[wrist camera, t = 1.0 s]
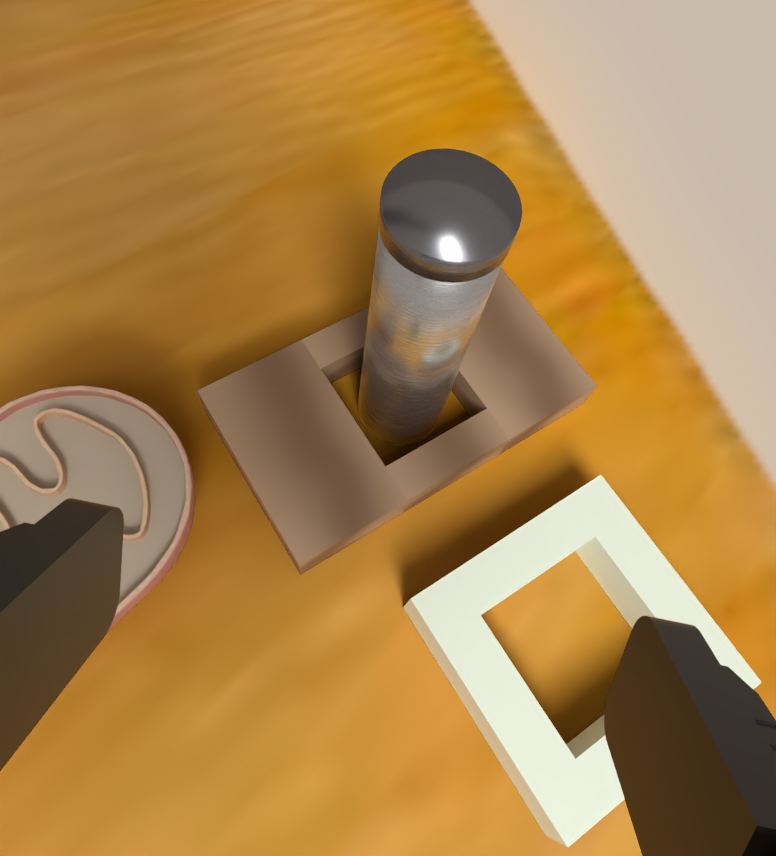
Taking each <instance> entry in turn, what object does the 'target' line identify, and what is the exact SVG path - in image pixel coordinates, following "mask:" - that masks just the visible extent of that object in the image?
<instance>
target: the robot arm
mask: <svg viewBox="0 0 776 856" xmlns="http://www.w3.org/2000/svg"><path fill="white" fill-rule="evenodd" d="M123 530H124V518H123V513H122V511H121V509H120V508H118V507H113V506H108V505H103V504H98V503H93V502H88V501H83V500H78V499H73V498H69V499H66V500H64V501H63V502H62V503H60V504H59V505H58V506H57V507H55V508H54V509H53V510H52V511H50V512H49V513H48V514H46V515H45V516H44V517H43V518H41V519H40V520H39V521H38V522H36V523H35V524H30V523H25V522H24V523H22V524H19V525H16V526H14V527H11V528H9V529H6V530H3V531H1V532H0V771H1V769H2V768H3V767H4V766H5V764H6V763H7V762H8V760H9V759H10V758H11V757H12V755H13V754H14V753H15V751H16V750H17V749H18V748H19V746H20V745H21V744H22V742H23V741H24V740H25V738H26V737H27V736H28V735H29V733H30V732H31V731H32V729H33V728H34V727H35V726H36V724H37V723H38V722H39V720H40V719H41V718H42V716H43V715H44V714H45V713H46V711H47V710H48V709H49V707H50V706H51V705H52V704H53V702H54V701H55V700H56V698H57V697H58V696H59V695H60V693H61V692H62V691H63V689H64V688H65V687H66V685H67V684H68V683H69V682H70V680H71V679H72V678H73V676H74V675H75V674H76V673H77V671H78V670H79V669H80V667H81V666H82V665H83V664H84V662H85V661H86V660H87V658H88V657H89V656H90V654H91V653H92V652H93V651H94V649H95V648H96V647H97V645H98V644H99V643H100V642H101V640H102V639H103V638H104V636H105V635H106V633H107V632H108V630H109V628H110V626H111V624H112V621H113V619H114V616H115V614H116V610H117V607H118V602H119V596H120V582H121V565H122V547H123ZM604 728H605V736H606V740H607V744H608V747H609V750H610V753H611V757H612V760H613V763H614V766H615V769H616V773H617V776H618V779H619V782H620V785H621V788H622V792H623V795H624V798H625V801H626V804H627V808H628V811H629V814H630V817H631V820H632V823H633V827H634V830H635V833H636V836H637V839H638V843H639V846H640V849H641V852H642V855H643V856H776V720H775V719H774V717H773V716H772V714H771V713H770V711H769V710H768V708H767V707H766V705H765V704H764V702H763V701H762V699H761V697H760V696H759V694H757V693H756V692H755V691H754V690H753V689H752V688H751V687H750V686H749V685H748V684H747V683H746V682H744V681H743V680H742V679H741V678H740V677H739V676H738V675H737V674H736V673H735V672H734V671H732V670H731V669H730V668H729V667H728V666H723V665H720V663H719V661H718V660H717V658H716V657H715V655H714V653H713V652H712V650H711V648H710V647H709V645H708V644H707V642H706V640H705V639H704V637H703V635H702V634H701V632H700V631H699V629H698V628H697V627H695V626H693V625H689V624H684V623H680V622H675V621H670V620H665V619H660V618H655V617H650V616H641V617H640V618H639V619H638V620H637V621H636V623H635V624H634V626H633V629H632V631H631V634H630V637H629V639H628V642H627V645H626V647H625V650H624V653H623V655H622V658H621V661H620V664H619V666H618V669H617V672H616V674H615V677H614V680H613V682H612V685H611V688H610V691H609V693H608V696H607V700H606V705H605V713H604Z"/></svg>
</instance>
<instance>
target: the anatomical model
mask: <svg viewBox="0 0 776 856" xmlns="http://www.w3.org/2000/svg"><path fill="white" fill-rule="evenodd" d="M69 498H73V499H78V500H83V501H88V502H93V503H98V504H103V505H108V506H113V507H118V508H120V509H121V511H122V513H123V518H124V530H123V547H122V565H121V582H120V596H119V602H118V607H117V610H116V614H115V616H114V619H113V621H112V624H111V626H110V628H109V630H108V631H110V630H111V629H112V628H113V627H114V626H115V625H116V624H117V623H118V622H119V621H120V620H121V619H122V618H123V617H124V616H125V615H126V614H127V613H128V612H129V611H130V610H131V609H132V608H133V607H134V606H135V605H137V604H138V603H139V602H140V601H141V600H142V599H143V598H144V597H145V596H146V595H147V594H148V593H149V592H150V591H151V590H152V589H153V588H154V587H155V586H156V585H157V584H158V583H159V582H160V581H161V580H162V579H163V578H164V577H165V575H166V574H167V573H168V571H169V570H170V568H171V567H172V566H173V564H174V563H175V562H176V560H177V559H178V557H179V555H180V553H181V551H182V549H183V547H184V545H185V543H186V541H187V538H188V535H189V532H190V528H191V525H192V521H193V514H194V507H195V488H194V476H193V472H192V469H191V465H190V461H189V458H188V456H187V454H186V451H185V449H184V447H183V445H182V443H181V441H180V439H179V438H178V436H177V434H176V433H175V432H174V430H173V429H172V428H171V427H170V425H169V424H168V423H167V422H166V421H165V419H164V418H163V417H162V416H161V415H159V414H158V413H157V412H156V411H155V410H153V409H152V408H151V407H150V406H148V405H146V404H145V403H143V402H141V401H139V400H138V399H136V398H134V397H132V396H129V395H126V394H124V393H121V392H118V391H115V390H111V389H106V388H102V387H94V386H82V385H80V386H63V387H56V388H50V389H44V390H40V391H38V392H35V393H32V394H29V395H26V396H23V397H20V398H18V399H16V400H13V401H11V402H9V403H7V404H6V405H4V406H3V407H1V408H0V532H1V531H3V530H6V529H9V528H11V527H14V526H16V525H19V524H22V523H24V522H25V523H30V524H35V523H36V522H38V521H39V520H40V519H41V518H43V517H44V516H45V515H46V514H48V513H49V512H50V511H52V510H53V509H54V508H55V507H57V506H58V505H59V504H60V503H62V502H63V501H64V500H66V499H69Z"/></svg>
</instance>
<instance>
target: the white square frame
mask: <svg viewBox="0 0 776 856" xmlns="http://www.w3.org/2000/svg"><path fill="white" fill-rule="evenodd" d="M574 551H575V552H576V553H577V555H578V556H579V557H580V559H581V560H582V561H583V563H584V564H585V566H586V567H587V568H588V570H589V571H590V572H591V574H592V575H593V576H594V578H595V579H596V581H597V582H598V583H599V585H600V586H601V587H602V589H603V590H604V592H605V593H606V594H607V596H608V597H609V598H610V600H611V601H612V602H613V604H614V605H615V607H616V608H617V609H618V611H619V612H620V613H621V615H622V616H623V618H624V619H625V620H626V622H627V623H628V624H629V626H630V627H631V629H633V626H634V624H635V623H636V621H637V620H638V619H639V618H640V617H641V616H650V617H655V618H660V619H665V620H670V621H675V622H680V623H684V624H689V625H693V626H695V627H697V628H698V629H699V631H700V632H701V634H702V635H703V637H704V639H705V640H706V642H707V644H708V645H709V647H710V648H711V650H712V652H713V653H714V655H715V657H716V658H717V660H718V661H719V663H720V665H723V666H728V667H729V668H730V669H731V670H732V671H734V672H735V673H736V674H737V675H738V676H739V677H740V678H741V679H742V680H743V681H744V682H746V683H747V684H748V685H749V686H750V687H751V688H752V689H754V688H756V687H757V686H758V685H759V684H760V683H761V681H760V680H759V678H758V677H757V676H756V674H755V673H754V672H753V670H752V669H751V668H750V667H749V665H748V664H747V663H746V661H745V660H744V659H743V658H742V656H741V655H740V654H739V652H738V651H737V650H736V649H735V647H734V646H733V645H732V643H731V642H730V641H729V639H728V638H727V637H726V636H725V634H724V633H723V632H722V630H721V629H720V628H719V627H718V625H717V624H716V623H715V621H714V620H713V619H712V618H711V616H710V615H709V614H708V612H707V611H706V610H705V608H704V607H703V606H702V605H701V603H700V602H699V601H698V599H697V598H696V597H695V596H694V594H693V593H692V592H691V590H690V589H689V588H688V587H687V585H686V584H685V583H684V581H683V580H682V579H681V577H680V576H679V575H678V574H677V572H676V571H675V570H674V568H673V567H672V566H671V565H670V563H669V562H668V561H667V559H666V558H665V557H664V556H663V554H662V553H661V552H660V550H659V549H658V548H657V546H656V545H655V544H654V543H653V541H652V540H651V539H650V537H649V536H648V535H647V534H646V532H645V531H644V530H643V528H642V527H641V526H640V524H639V523H638V522H637V521H636V519H635V518H634V517H633V515H632V514H631V513H630V512H629V510H628V509H627V508H626V506H625V505H624V504H623V503H622V501H621V500H620V499H619V497H618V496H617V495H616V493H615V492H614V491H613V490H612V488H611V487H610V486H609V484H608V483H607V482H606V481H605V479H604V478H603V477H602V475H599V476H598V477H596V478H595V479H593V480H592V481H590V482H589V483H587V484H586V485H584V486H582V487H581V488H579V489H578V490H576V491H575V492H573V493H572V494H570V495H569V496H567V497H566V498H564V499H563V500H561V501H559V502H558V503H556V504H555V505H553V506H552V507H550V508H549V509H547V510H546V511H544V512H543V513H541V514H540V515H538V516H536V517H535V518H533V519H532V520H530V521H529V522H527V523H526V524H524V525H523V526H521V527H520V528H518V529H517V530H515V531H513V532H512V533H510V534H509V535H507V536H506V537H504V538H503V539H501V540H500V541H498V542H497V543H495V544H494V545H492V546H490V547H489V548H487V549H486V550H484V551H483V552H481V553H480V554H478V555H477V556H475V557H474V558H472V559H470V560H469V561H467V562H466V563H464V564H463V565H461V566H460V567H458V568H457V569H455V570H454V571H452V572H451V573H449V574H447V575H446V576H444V577H443V578H441V579H440V580H438V581H437V582H435V583H434V584H432V585H431V586H429V587H428V588H426V589H424V590H423V591H421V592H420V593H418V594H417V595H415V596H414V597H412V598H411V599H410V600H409V601H408V602H407V603H406V605H405V606H404V607H403V608H404V610H405V611H406V613H407V614H408V616H409V618H410V619H411V621H412V622H413V624H414V626H415V627H416V629H417V630H418V632H419V634H420V635H421V637H422V639H423V640H424V642H425V643H426V645H427V647H428V648H429V650H430V651H431V653H432V655H433V656H434V658H435V659H436V661H437V663H438V664H439V666H440V667H441V669H442V671H443V672H444V674H445V675H446V677H447V679H448V680H449V682H450V683H451V685H452V687H453V688H454V690H455V691H456V693H457V695H458V696H459V698H460V699H461V701H462V703H463V704H464V706H465V707H466V709H467V711H468V712H469V714H470V715H471V717H472V719H473V720H474V722H475V723H476V725H477V727H478V728H479V730H480V731H481V733H482V735H483V736H484V738H485V739H486V741H487V743H488V744H489V746H490V747H491V749H492V751H493V752H494V754H495V755H496V757H497V759H498V760H499V762H500V763H501V765H502V767H503V768H504V770H505V771H506V773H507V775H508V776H509V778H510V779H511V781H512V783H513V784H514V786H515V787H516V789H517V791H518V792H519V794H520V795H521V797H522V799H523V800H524V802H525V803H526V805H527V807H528V808H529V810H530V811H531V813H532V815H533V816H534V818H535V819H536V821H537V823H538V824H539V826H540V827H541V829H542V831H543V832H544V834H545V835H546V836H548V837H550V838H551V839H553V840H555V841H557V842H558V843H560V844H562V845H564V846H565V847H567V848H568V847H569V846H570V845H572V844H573V843H574V842H575V841H576V840H577V839H579V838H580V837H581V836H582V835H583V834H584V833H586V832H587V831H588V830H589V829H590V828H591V827H593V826H594V825H595V824H596V823H597V822H598V821H600V820H601V819H602V818H603V817H604V816H606V815H607V814H608V813H609V812H610V811H611V810H613V809H614V808H615V807H616V806H617V805H618V804H620V803H621V802H622V801H623V800H624V799H625V798H624V795H623V792H622V788H621V785H620V782H619V779H618V776H617V773H616V769H615V766H614V763H613V760H612V757H611V753H610V750H609V747H608V744H607V740H606V736H605V728H604V715H603V716H601V717H600V718H599V719H597V720H596V721H595V722H594V723H592V724H591V725H590V726H589V727H587V728H586V729H585V730H584V731H582V732H581V733H580V734H579V735H577V736H576V737H575V738H574V739H572V740H571V741H570V742H568V743H567V744H565V742H564V741H563V739H562V738H561V736H560V735H559V733H558V732H557V730H556V729H555V727H554V726H553V724H552V723H551V721H550V719H549V718H548V716H547V715H546V713H545V712H544V710H543V709H542V707H541V706H540V704H539V703H538V701H537V700H536V698H535V697H534V695H533V694H532V692H531V691H530V689H529V688H528V686H527V685H526V683H525V682H524V680H523V679H522V677H521V676H520V674H519V673H518V671H517V670H516V668H515V666H514V665H513V663H512V662H511V660H510V659H509V657H508V656H507V654H506V653H505V651H504V650H503V648H502V647H501V645H500V644H499V642H498V641H497V639H496V638H495V636H494V635H493V633H492V632H491V630H490V629H489V627H488V626H487V624H486V623H485V621H484V620H483V618H482V617H481V615H482V614H483V613H485V612H486V611H488V610H489V609H491V608H492V607H494V606H495V605H497V604H498V603H499V602H501V601H502V600H504V599H505V598H507V597H508V596H510V595H511V594H513V593H514V592H516V591H517V590H518V589H520V588H521V587H523V586H524V585H526V584H527V583H529V582H530V581H532V580H533V579H534V578H536V577H537V576H539V575H540V574H542V573H543V572H545V571H546V570H548V569H549V568H551V567H552V566H553V565H555V564H556V563H558V562H559V561H561V560H562V559H564V558H565V557H567V556H568V555H569V554H571V553H572V552H574Z"/></svg>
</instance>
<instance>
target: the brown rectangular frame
mask: <svg viewBox="0 0 776 856" xmlns="http://www.w3.org/2000/svg"><path fill="white" fill-rule="evenodd" d="M368 314H369V307H367V308H365V309H363V310H361V311H359V312H357V313H355V314H353V315H351V316H349V317H347V318H345V319H343V320H341V321H339V322H336V323H334V324H332V325H330V326H328V327H326V328H324V329H322V330H320V331H318V332H316V333H314V334H312V335H310V336H308V337H306V338H304V339H302V340H300V341H298V342H295V343H293V344H291V345H289V346H287V347H285V348H283V349H281V350H279V351H277V352H275V353H273V354H271V355H269V356H267V357H265V358H263V359H261V360H259V361H257V362H255V363H252V364H250V365H248V366H246V367H244V368H242V369H240V370H238V371H236V372H234V373H232V374H230V375H228V376H226V377H224V378H222V379H220V380H218V381H216V382H214V383H212V384H209V385H207V386H205V387H203V388H201V389H199V390H197V392H198V394H199V397H200V399H201V402H202V405H203V407H204V410H205V411H206V413H207V415H208V416H209V418H210V420H211V422H212V423H213V425H214V427H215V428H216V430H217V432H218V434H219V435H220V437H221V439H222V441H223V442H224V444H225V446H226V447H227V449H228V451H229V453H230V454H231V456H232V458H233V459H234V461H235V463H236V465H237V466H238V468H239V470H240V471H241V473H242V475H243V477H244V478H245V480H246V482H247V483H248V485H249V487H250V489H251V490H252V492H253V494H254V495H255V497H256V499H257V501H258V502H259V504H260V506H261V507H262V509H263V511H264V513H265V514H266V516H267V518H268V519H269V521H270V523H271V525H272V526H273V528H274V530H275V531H276V533H277V535H278V537H279V538H280V540H281V542H282V543H283V545H284V547H285V549H286V550H287V552H288V554H289V555H290V557H291V559H292V561H293V562H294V564H295V566H296V567H297V569H298V571H299V573H300V574H302V573H304V572H305V571H307V570H309V569H310V568H312V567H314V566H315V565H317V564H319V563H320V562H322V561H324V560H325V559H327V558H329V557H330V556H332V555H334V554H335V553H337V552H339V551H340V550H342V549H344V548H345V547H347V546H348V545H350V544H352V543H353V542H355V541H357V540H358V539H360V538H362V537H363V536H365V535H367V534H368V533H370V532H372V531H373V530H375V529H377V528H378V527H380V526H382V525H383V524H385V523H387V522H388V521H390V520H392V519H393V518H395V517H396V516H398V515H400V514H401V513H403V512H405V511H406V510H408V509H410V508H411V507H413V506H415V505H416V504H418V503H420V502H421V501H423V500H425V499H426V498H428V497H430V496H431V495H433V494H435V493H436V492H438V491H439V490H441V489H443V488H444V487H446V486H448V485H449V484H451V483H453V482H454V481H456V480H458V479H459V478H461V477H463V476H464V475H466V474H468V473H469V472H471V471H473V470H474V469H476V468H478V467H479V466H481V465H483V464H484V463H486V462H487V461H489V460H491V459H492V458H494V457H496V456H497V455H499V454H501V453H502V452H504V451H506V450H507V449H509V448H511V447H512V446H514V445H516V444H517V443H519V442H521V441H522V440H524V439H526V438H527V437H529V436H530V435H532V434H534V433H535V432H537V431H539V430H540V429H542V428H544V427H545V426H547V425H549V424H550V423H552V422H554V421H555V420H557V419H559V418H560V417H562V416H564V415H565V414H567V413H569V412H570V411H572V410H574V409H575V408H577V407H578V406H580V405H582V404H583V403H584V401H585V400H586V399H587V398H588V397H589V396H590V394H591V393H592V392H593V391H594V390H595V389H596V387H597V385H596V384H595V383H594V382H593V380H592V379H591V378H590V377H589V376H588V374H587V373H586V372H585V371H584V369H583V368H582V367H581V366H580V364H579V363H578V362H577V361H576V359H575V358H574V357H573V356H572V355H571V353H570V352H569V351H568V350H567V348H566V347H565V346H564V345H563V343H562V342H561V341H560V340H559V338H558V337H557V336H556V335H555V334H554V332H553V331H552V330H551V329H550V327H549V326H548V325H547V324H546V322H545V321H544V320H543V319H542V318H541V316H540V315H539V314H538V313H537V311H536V310H535V309H534V308H533V306H532V305H531V304H530V303H529V301H528V300H527V299H526V298H525V297H524V295H523V294H522V293H521V292H520V290H519V289H518V288H517V287H516V285H515V284H514V283H513V282H512V280H511V279H510V278H509V277H508V276H507V274H506V273H505V272H504V271H503V269H502V268H500V270H499V273H498V275H497V278H496V280H495V283H494V285H493V288H492V290H491V293H490V295H489V297H488V300H487V302H486V305H485V307H484V310H483V312H482V315H481V317H480V320H479V322H478V324H477V327H476V329H475V332H474V334H473V337H472V339H471V342H470V344H469V346H468V349H467V351H466V354H465V356H464V359H463V361H462V364H461V366H460V369H459V371H458V373H457V376H456V378H455V381H454V383H453V386H452V388H451V390H452V391H453V393H454V394H455V395H456V397H457V398H458V400H459V401H460V402H461V404H462V405H463V406H464V408H465V409H466V411H467V412H468V413H469V415H470V416H471V418H469V419H467V420H466V421H464V422H462V423H460V424H459V425H457V426H455V427H454V428H452V429H450V430H448V431H447V432H445V433H443V434H441V435H440V436H438V437H436V438H434V439H433V440H431V441H429V442H427V443H426V444H424V445H422V446H420V447H419V448H417V449H415V450H414V451H412V452H410V453H408V454H407V455H405V456H403V457H401V458H400V459H398V460H396V461H394V462H393V463H391V464H389V465H387V466H385V465H384V463H383V462H382V460H381V459H380V457H379V456H378V454H377V453H376V451H375V450H374V448H373V447H372V445H371V444H370V442H369V441H368V439H367V438H366V436H365V435H364V433H363V432H362V430H361V429H360V427H359V426H358V424H357V423H356V421H355V420H354V418H353V417H352V415H351V414H350V412H349V411H348V409H347V408H346V406H345V404H344V403H343V401H342V400H341V398H340V397H339V395H338V394H337V392H336V391H335V389H334V388H333V386H332V385H331V383H332V382H334V381H336V380H338V379H340V378H342V377H343V376H345V375H347V374H349V373H351V372H353V371H355V370H357V369H359V368H361V367H362V364H363V355H364V347H365V339H366V330H367V322H368Z"/></svg>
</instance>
